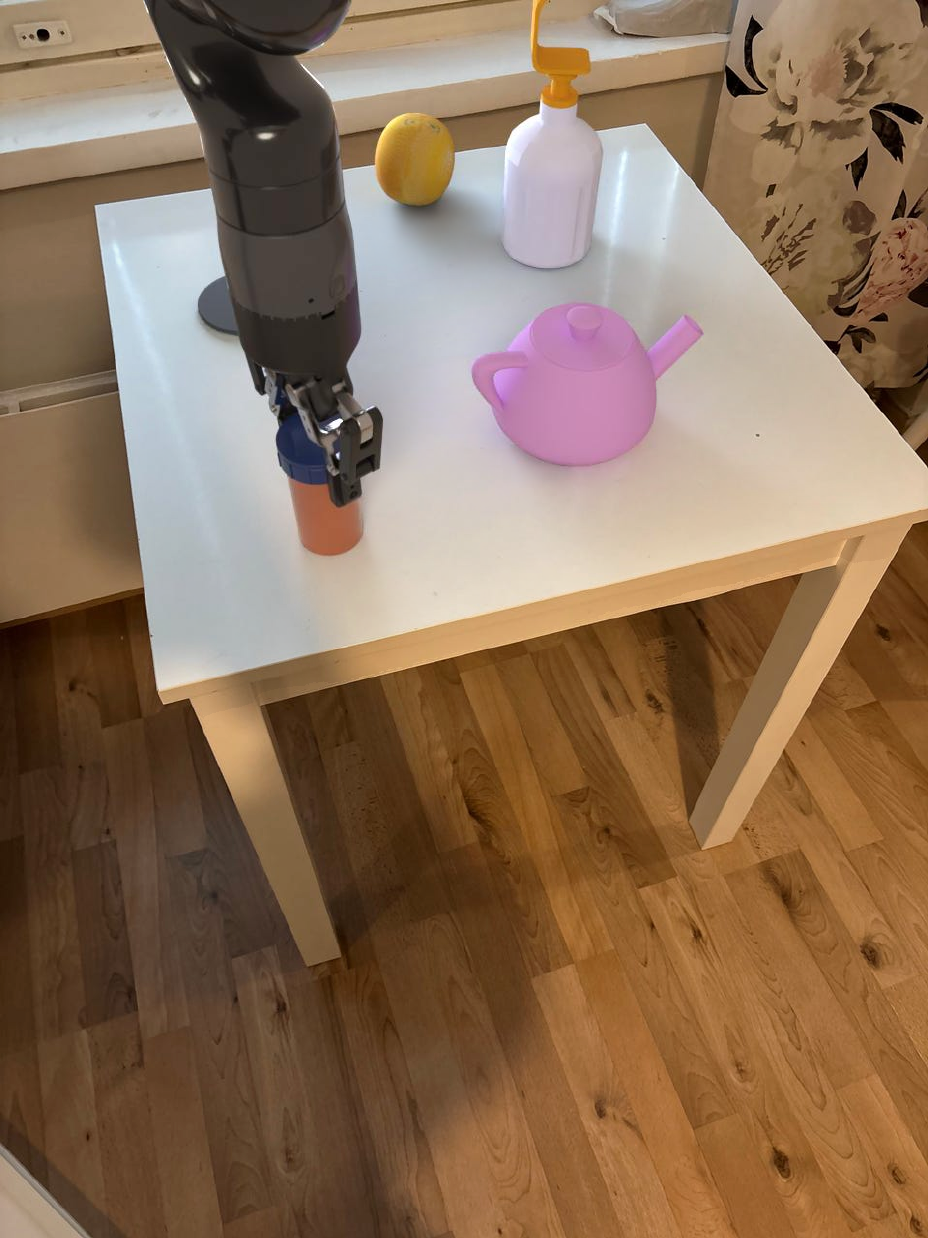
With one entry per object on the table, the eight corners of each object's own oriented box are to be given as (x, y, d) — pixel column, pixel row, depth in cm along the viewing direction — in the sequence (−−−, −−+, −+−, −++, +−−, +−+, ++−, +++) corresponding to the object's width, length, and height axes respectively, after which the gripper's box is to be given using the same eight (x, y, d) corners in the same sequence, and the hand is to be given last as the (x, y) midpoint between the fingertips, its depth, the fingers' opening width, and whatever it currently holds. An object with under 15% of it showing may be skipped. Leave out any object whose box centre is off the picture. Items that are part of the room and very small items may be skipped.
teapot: (720, 445, 80) (753, 342, 71) (498, 500, 76) (504, 399, 67) (649, 343, 87) (672, 239, 79) (443, 389, 83) (443, 285, 75)
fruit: (453, 221, 98) (453, 145, 92) (375, 219, 98) (369, 143, 92) (455, 174, 103) (455, 99, 97) (381, 172, 103) (376, 97, 97)
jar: (300, 559, 72) (282, 471, 65) (297, 510, 75) (279, 420, 67) (365, 552, 73) (355, 464, 65) (360, 503, 76) (350, 413, 68)
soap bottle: (593, 271, 94) (633, -6, 73) (501, 269, 94) (516, -9, 73) (587, 219, 99) (624, -54, 79) (500, 217, 99) (514, -57, 79)
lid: (280, 489, 65) (276, 469, 64) (278, 431, 69) (274, 412, 67) (362, 481, 66) (360, 461, 64) (355, 424, 69) (353, 405, 68)
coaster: (198, 339, 87) (196, 334, 86) (199, 279, 92) (198, 274, 92) (296, 330, 88) (296, 326, 87) (292, 271, 93) (292, 267, 92)
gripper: (173, 236, 57) (226, 441, 71) (304, 363, 50) (335, 561, 64) (280, 193, 60) (311, 399, 73) (417, 309, 53) (423, 510, 67)
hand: (322, 474), depth 69 cm, fingers closed on lid, 5 cm apart
